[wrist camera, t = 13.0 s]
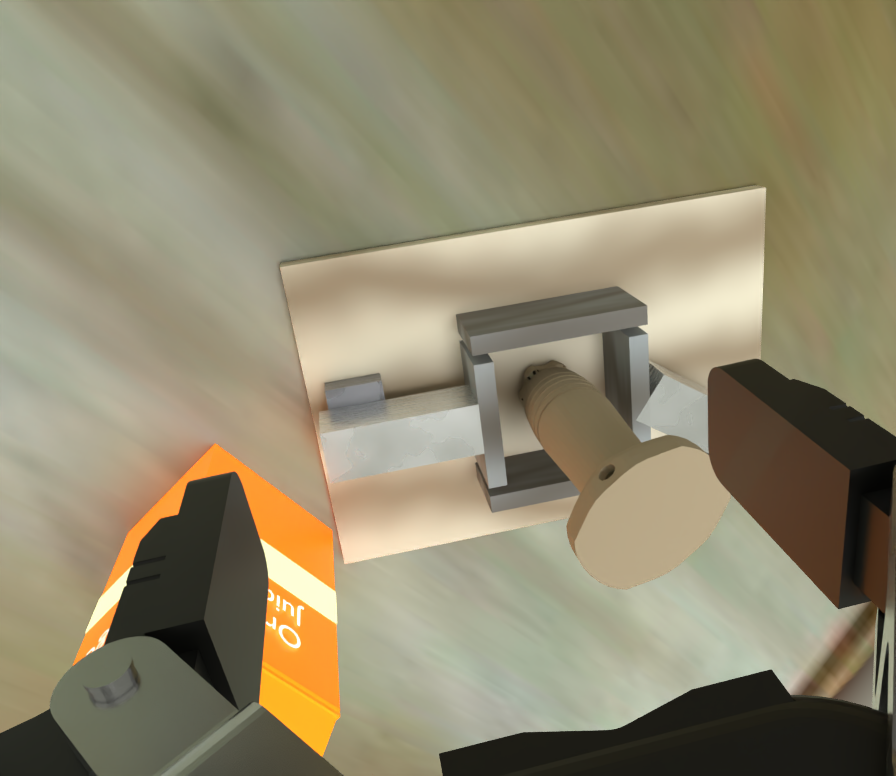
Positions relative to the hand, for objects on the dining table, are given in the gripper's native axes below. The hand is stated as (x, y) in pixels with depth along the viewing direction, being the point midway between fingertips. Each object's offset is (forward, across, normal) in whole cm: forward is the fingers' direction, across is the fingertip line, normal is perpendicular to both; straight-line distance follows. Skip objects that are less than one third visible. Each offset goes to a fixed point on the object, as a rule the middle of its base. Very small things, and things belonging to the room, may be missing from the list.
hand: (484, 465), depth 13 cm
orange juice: (+28, +12, +18) cm, 35 cm away
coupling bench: (+28, -7, +12) cm, 31 cm away
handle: (+27, -7, +12) cm, 30 cm away
